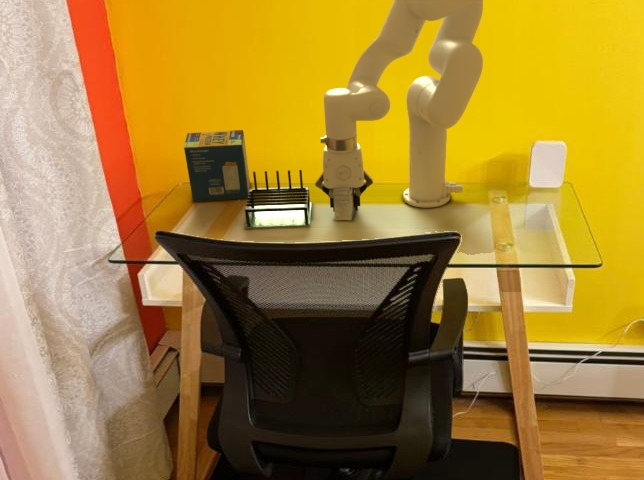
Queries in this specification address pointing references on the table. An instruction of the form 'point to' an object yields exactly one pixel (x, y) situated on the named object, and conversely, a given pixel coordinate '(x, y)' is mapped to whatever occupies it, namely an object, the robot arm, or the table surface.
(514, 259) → the table surface
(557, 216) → the table surface
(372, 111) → the robot arm
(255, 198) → the dish rack
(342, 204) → the medicine box
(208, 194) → the protein box
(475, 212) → the table surface
